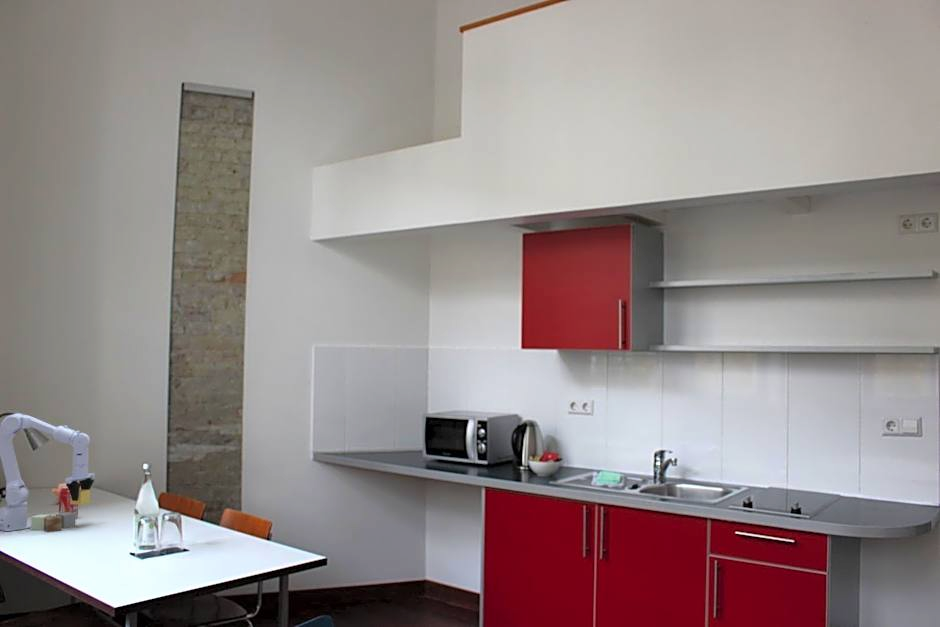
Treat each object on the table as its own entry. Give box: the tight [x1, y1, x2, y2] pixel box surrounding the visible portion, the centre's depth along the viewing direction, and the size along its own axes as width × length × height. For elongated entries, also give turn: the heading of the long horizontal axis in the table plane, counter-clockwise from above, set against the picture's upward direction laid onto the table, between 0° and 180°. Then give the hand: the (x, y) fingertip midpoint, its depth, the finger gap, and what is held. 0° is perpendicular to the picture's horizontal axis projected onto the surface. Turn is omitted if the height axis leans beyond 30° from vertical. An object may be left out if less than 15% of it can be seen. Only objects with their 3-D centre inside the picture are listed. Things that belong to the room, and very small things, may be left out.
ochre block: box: [70, 489, 91, 506], centre depth 345 cm, size 5×5×5 cm
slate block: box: [55, 512, 76, 529], centre depth 344 cm, size 5×5×5 cm
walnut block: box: [44, 515, 62, 533], centre depth 337 cm, size 5×5×5 cm
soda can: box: [58, 486, 79, 519], centre depth 359 cm, size 7×7×13 cm
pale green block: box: [30, 514, 52, 531], centre depth 340 cm, size 5×5×5 cm
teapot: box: [51, 482, 81, 502], centre depth 393 cm, size 12×12×10 cm
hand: (79, 499), depth 345 cm, fingers closed on ochre block, 5 cm apart
